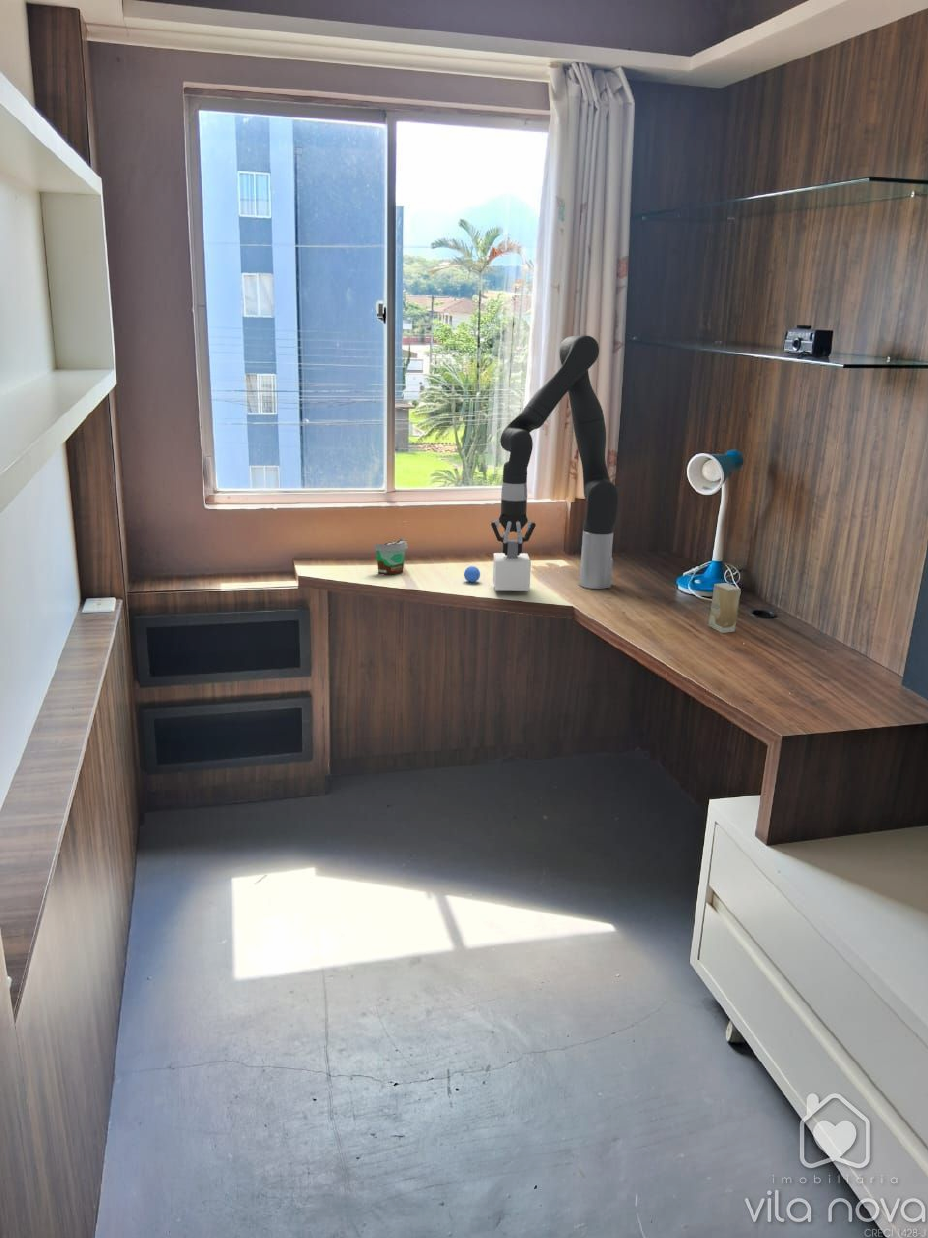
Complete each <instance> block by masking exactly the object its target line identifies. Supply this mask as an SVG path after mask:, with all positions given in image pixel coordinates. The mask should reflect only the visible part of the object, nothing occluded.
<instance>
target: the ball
mask: <svg viewBox="0 0 928 1238" xmlns="http://www.w3.org/2000/svg"><path fill="white" fill-rule="evenodd" d="M463 576H464V577H463V578H464V579H465V580H466V581H467V582H468V583H476V582H477V581H479V579H481V578H480V577H481V571H480V570H479V568H478V567H476V566H474V565H472V566H471V565H470V566H468V567H466V568H465V570H464V571H463Z"/></svg>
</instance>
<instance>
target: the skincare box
mask: <svg viewBox="0 0 928 1238" xmlns="http://www.w3.org/2000/svg"><path fill="white" fill-rule="evenodd" d="M713 585H714V586H713V592H712V598H711V606H710V614H709V620H708V627H710V628H712V629H714V630H716V631H717V632H719V633H721V634H725V633H734V632H735V630H736V624H737V617H738V611H739V610H738V609H739V605H740V599H741V598H740V596H741V590H742V589H741V588H739V587H737V586H735V585H732V584H730V583H727V582H723V583H722V582H721V583H720V582H719V583H714V584H713Z"/></svg>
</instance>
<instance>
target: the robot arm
mask: <svg viewBox="0 0 928 1238" xmlns="http://www.w3.org/2000/svg"><path fill="white" fill-rule="evenodd" d="M599 355H600V346H599V343H598V341H597V340H596V339H595V337H594V336H591V335H587V334H581V335H579V334H578V335H572V336H571V335H570V336H567V337H565V339H563V340H562V342H561V344H560V346H559V360H560V365H561V366H560V368H559V369H558V370H557V371H556V372H555V373H554V375H553V376H552V377H551V378H549V380H547V381H546V382H545V383H544V384H543V385H542V386H541V387H539V389H538V390H537V391H536V392H535V393H534V394H533V396H532V397H531V398H530V400H529V401H528V403H527V404H526V405H525V407H524V408H523V410H522V412H521V413H519V414H518V415H517V416H515V418H513V419H512V420H511V421H510V423H509V424H508V425H506V427H505V428H504V429H503V431H502V433H501V435H500V439H499V442H500V446H501V448H502V449H503V450H505V451H506V452H509V459H508V461H506V462H505V463H504V464H503V469H502V485H501V495H500V496H501V498H500V515H499V517H498V518H497V519H496V520H491V521H490V525H491V528H492V531H493V533H494V535H495V538H496V540H497V541H498V542H501V544H502V553H503V554H505V556H507V552H508V543H507V540H509V536H510V533H512V532H514V533H516V537H517V538H516V539H517V541H518V556H520V554H521V553H523V543H525V542H529V540H530V538H531V536H532V534H533V532H534V530H535V528H536V523H535V521H531V520H529V519H528V517H527V509H528V508H527V504H528V485H527V484H528V467H529V463H530V459H531V456H532V452H533V448H534V447H533V446H534V444H533V437H532V435H531V433H532V431H534V430H538V429H540V428H541V427H542V426H543V425H544V423H546V421H547V419H548V418H549V417H550V416H551V414H552V412H553V411H554V410H555V408H556V407H557V405H559V404H560V403H559V402H560V401H561V400H562V399H563V397H564V396H565V395H566V394H567V393H568V397H569V405H570V411H571V418H572V425H573V432H574V436H575V437H574V438H575V441H576V445H577V449H578V455H579V458H580V462H581V468H582V485H583V495H584V499H585V501H586V502H587V506H586V516H585V520H584V522H583V525H582V526H583V527H582V541H581V552H580V553H581V554H580V567H579V568H580V570H579V579H578V580H579V583H578V584H579V586H580V587H582V588H584V589H591V590H604V589H611V585H612V584H611V583H612V573H613V562H614V561H613V560H614V559H613V557H612V554H613V553H612V552H613V542H614V541H613V540H614V531H615V530H614V528H615V525H616V524H617V517H618V516H617V515H618V506H619V491H618V487H616V485H615V484H614V483H613V482H612V481H611V478H610V475H609V472H608V468H607V467H608V466H607V461H606V460H607V459H606V447H607V428H606V427H607V426H606V422H605V421H606V420H605V415H604V410H603V407H602V405H601V403H600V400H599V399H598V397H597V394H596V393H595V390H594V389H593V386H592V383H591V381H590V380H591V379H590V374H589V369H590V368H591V367H592V366H593V365H594V364H595V363H596V362H597V360H598V358H599ZM499 524H500V525H501V527H502V528H503V529H504V530H503V536H501V534H500V532H499V529H498V528H499V527H500V525H499ZM525 526H527V530H526V532H525V534H524V536H522V535H523V534H522V530H523V529H524V527H525Z"/></svg>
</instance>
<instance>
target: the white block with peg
mask: <svg viewBox="0 0 928 1238" xmlns="http://www.w3.org/2000/svg"><path fill="white" fill-rule="evenodd" d="M507 543H508V552H507V556H505V554H503V552H493V558H492V559H493V563H492V564H493V565H492V584H493V586H494V591H517V592H518V591H521V592H523V591H526V592H527V591H528V592H530V590H531V589H530V588H531V568H532V567H531V566H532V565H531V563H532V561H531V558H530V557H529V554H528V553H525V552H522V553H521V554H520V556H518V539H508V540H507Z"/></svg>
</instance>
